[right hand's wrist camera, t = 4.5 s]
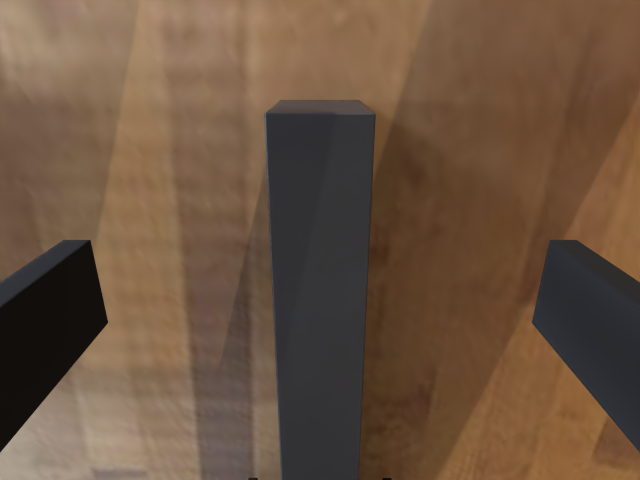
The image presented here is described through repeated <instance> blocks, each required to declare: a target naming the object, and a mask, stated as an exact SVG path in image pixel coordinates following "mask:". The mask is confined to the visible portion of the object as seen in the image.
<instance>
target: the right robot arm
mask: <svg viewBox="0 0 640 480" xmlns="http://www.w3.org/2000/svg"><path fill="white" fill-rule="evenodd" d="M107 323H108V320H107V315H106V310H105V306H104V301H103V297H102V292H101V287H100V283H99V278H98V273H97V269H96V264H95V260H94V255H93V250H92V246H91V241H90V240H63V241H61V242H60V243H58V244H57V245H55V246H54V247H52V248H51V249H50V250H48V251H47V252H45V253H44V254H42V255H41V256H39V257H38V258H36V259H35V260H33V261H32V262H30V263H29V264H27V265H26V266H24V267H23V268H21V269H20V270H18V271H17V272H15V273H14V274H12V275H11V276H9V277H8V278H6V279H5V280H3V281H2V282H0V452H1V451H2V450H3V449H4V447H5V446H6V445H7V444H8V443H9V441H10V440H11V439H12V438H13V437H14V435H15V434H16V433H17V432H18V430H19V429H20V428H21V427H22V426H23V424H24V423H25V422H26V421H27V420H28V418H29V417H30V416H31V415H32V414H33V412H34V411H35V410H36V409H37V408H38V406H39V405H40V404H41V403H42V402H43V400H44V399H45V398H46V397H47V396H48V394H49V393H50V392H51V391H52V390H53V388H54V387H55V386H56V385H57V384H58V382H59V381H60V380H61V379H62V378H63V376H64V375H65V374H66V373H67V372H68V370H69V369H70V368H71V367H72V366H73V364H74V363H75V362H76V361H77V360H78V358H79V357H80V356H81V355H82V354H83V352H84V351H85V350H86V349H87V348H88V346H89V345H90V344H91V343H92V341H93V340H94V339H95V338H96V337H97V335H98V334H99V333H100V332H101V331H102V329H103V328H104V327H105V326H106V325H107ZM532 323H533V325H534V326H535V327H536V328H537V329H538V331H539V332H540V333H541V334H542V335H543V337H544V338H545V339H546V340H547V341H548V343H549V344H550V345H551V346H552V348H553V349H554V350H555V351H556V352H557V354H558V355H559V356H560V357H561V358H562V360H563V361H564V362H565V363H566V364H567V366H568V367H569V368H570V369H571V370H572V372H573V373H574V374H575V375H576V376H577V378H578V379H579V380H580V381H581V382H582V384H583V385H584V386H585V387H586V388H587V390H588V391H589V392H590V393H591V394H592V396H593V397H594V398H595V399H596V400H597V402H598V403H599V404H600V405H601V406H602V408H603V409H604V410H605V411H606V412H607V414H608V415H609V416H610V417H611V418H612V420H613V421H614V422H615V423H616V424H617V426H618V427H619V428H620V429H621V430H622V432H623V433H624V434H625V435H626V437H627V438H628V439H629V440H630V441H631V443H632V444H633V445H634V446H635V447H636V449H637V450H638V451H639V452H640V282H638V281H637V280H635V279H634V278H632V277H631V276H629V275H628V274H626V273H625V272H623V271H622V270H620V269H619V268H617V267H616V266H614V265H613V264H611V263H610V262H608V261H607V260H605V259H604V258H602V257H601V256H599V255H598V254H596V253H595V252H593V251H592V250H590V249H589V248H588V247H586V246H585V245H583V244H582V243H580V242H579V241H577V240H550V241H549V246H548V250H547V255H546V260H545V264H544V269H543V273H542V278H541V283H540V287H539V292H538V297H537V301H536V306H535V310H534V315H533V320H532Z"/></svg>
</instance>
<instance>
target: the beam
mask: <svg viewBox="0 0 640 480" xmlns="http://www.w3.org/2000/svg"><path fill="white" fill-rule="evenodd" d="M264 118H265V140H266V161H267V182H268V204H269V225H270V246H271V268H272V289H273V310H274V332H275V353H276V374H277V396H278V417H279V438H280V460H281V480H358V478H359V457H360V435H361V414H362V392H363V371H364V349H365V328H366V307H367V285H368V264H369V242H370V221H371V200H372V178H373V157H374V135H375V113H374V112H373V111H371V110H370V109H369V108H368V107H367V106H365V105H364V104H363V103H362V102H361V101H359V100H281V101H279V102H278V103H277V104H276V105H274V106H273V107H272V108H271V109H270V110H268V111H267V112H266V113H265V115H264Z"/></svg>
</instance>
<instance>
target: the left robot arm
mask: <svg viewBox="0 0 640 480" xmlns="http://www.w3.org/2000/svg"><path fill="white" fill-rule="evenodd" d="M249 480H258V478H249ZM382 480H392V479H391V478H383V479H382Z"/></svg>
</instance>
